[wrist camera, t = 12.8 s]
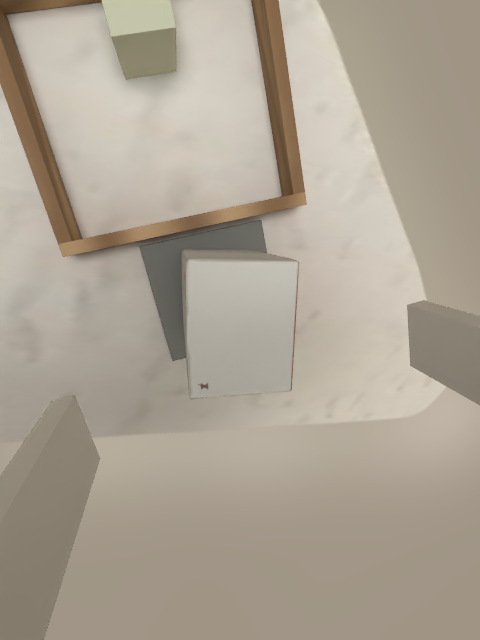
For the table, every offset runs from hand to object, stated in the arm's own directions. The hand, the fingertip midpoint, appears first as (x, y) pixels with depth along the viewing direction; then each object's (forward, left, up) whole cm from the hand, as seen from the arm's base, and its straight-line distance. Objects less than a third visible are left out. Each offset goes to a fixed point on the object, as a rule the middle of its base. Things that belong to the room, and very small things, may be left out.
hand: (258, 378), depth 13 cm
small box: (0, 0, -19) cm, 19 cm away
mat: (0, 0, -20) cm, 20 cm away
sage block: (-1, +20, -20) cm, 28 cm away
